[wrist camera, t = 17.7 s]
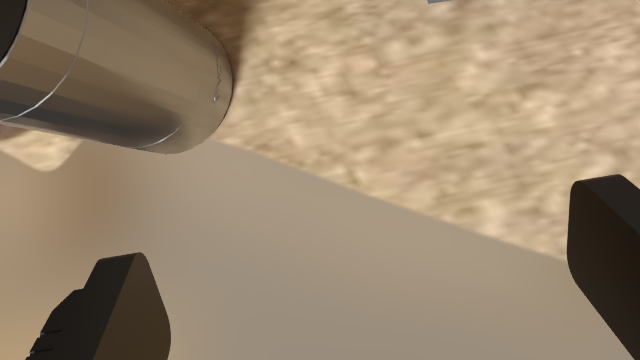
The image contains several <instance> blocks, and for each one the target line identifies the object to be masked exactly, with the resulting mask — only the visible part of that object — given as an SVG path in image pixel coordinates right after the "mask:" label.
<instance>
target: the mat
mask: <svg viewBox="0 0 640 360" xmlns="http://www.w3.org/2000/svg"><path fill="white" fill-rule="evenodd" d="M442 1H449V0H428V4H430V3H436V2H442Z"/></svg>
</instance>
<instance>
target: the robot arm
mask: <svg viewBox="0 0 640 360" xmlns="http://www.w3.org/2000/svg"><path fill="white" fill-rule="evenodd" d="M231 94H232V72H231V65H230V62H229V59H228V56H227V54H226V51H225V50H224V48H223V46H222V45H221V43H220V42H219V40H218V39H217V38H216V37H215V36H214V35H213V34H212V33H211V32H210V31H208V30H207V29H205V28H204V27H202V26H201V25H200V24H198V23H197V22H195V21H194V20H192V19H191V18H189V17H188V16H186V15H185V14H183V13H182V12H180V11H179V10H178V9H176V8H175V7H173V6H172V5H170V4H169V3H167V2H166V1H165V0H0V124H3V125H8V126H14V127H19V128H24V129H30V130H35V131H41V132H46V133H52V134H57V135H62V136H68V137H73V138H79V139H84V140H90V141H95V142H100V143H106V144H112V145H117V146H121V147H126V148H132V149H137V150H143V151H149V152H154V153H161V154H175V153H181V152H184V151H187V150H189V149H192V148H194V147H195V146H197V145H199V144H201V143H202V142H204V141H205V140H206V139H207V138H208V137H209V136H210V135H211V134H212V133H213V132H214V131H215V130H216V128H217V127H218V125H219V124H220V123H221V121H222V120H223V117H224V115H225V113H226V111H227V109H228V106H229V102H230V98H231ZM567 260H568V265H569V269H570V272H571V274H572V277H573V279H574V281H575V283H576V284H577V285H578V287H579V288H580V289H581V291H582V292H583V293H584V295H585V296H586V297H587V299H588V300H589V301H590V302H591V304H592V305H593V306H594V308H595V309H596V310H597V312H598V313H599V314H600V315H601V317H602V318H603V319H604V321H605V322H606V323H607V325H608V326H609V327H610V328H611V330H612V331H613V332H614V334H615V335H616V336H617V337H618V339H619V340H620V341H621V343H622V344H623V345H624V347H625V348H626V349H627V351H628V352H629V353H630V355H631V356H632V357H633V358H634V360H640V189H639V188H637V187H636V186H635V185H634V184H633V183H631V182H630V181H629V180H628V179H626V178H625V177H624V176H622V175H619V174H616V175H610V176H604V177H597V178H591V179H585V180H579V181H576V182H575V183H574V184H573V185H572V188H571V192H570V206H569V222H568V238H567ZM170 344H171V331H170V324H169V319H168V316H167V313H166V310H165V307H164V304H163V301H162V299H161V296H160V293H159V290H158V288H157V285H156V282H155V279H154V277H153V274H152V271H151V268H150V266H149V263H148V260H147V259H146V257H145V256H144V254H142V253H141V252H140V253H133V254H127V255H121V256H115V257H109V258H102V259H100V260H98V261H97V263H96V265H95V267H94V269H93V271H92V272H91V274H90V277H89V279H88V281H87V283H86V284H85V286H84V288H83V289H79V290H74V291H73V292H72V293H71V294H69V296H67V297H66V299H64V300H63V301H62V302H61V303H60V304H59V305H58V306H57V307H56V308H55V309H54V310H53V311H52V312H51V314H50V316H49V318H48V320H47V321H46V323H45V325H44V327H43V329H42V330H41V333H40V338H37V340H36V341H35V343H34V345H33V347H32V349H31V350H30V356H29V357H27V358H26V359H25V360H167V359H168V355H169V351H170Z"/></svg>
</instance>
